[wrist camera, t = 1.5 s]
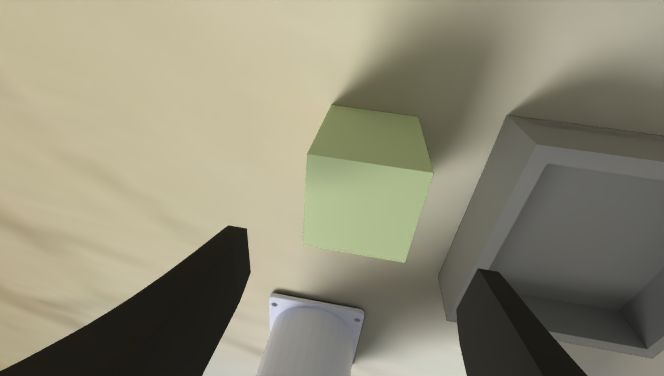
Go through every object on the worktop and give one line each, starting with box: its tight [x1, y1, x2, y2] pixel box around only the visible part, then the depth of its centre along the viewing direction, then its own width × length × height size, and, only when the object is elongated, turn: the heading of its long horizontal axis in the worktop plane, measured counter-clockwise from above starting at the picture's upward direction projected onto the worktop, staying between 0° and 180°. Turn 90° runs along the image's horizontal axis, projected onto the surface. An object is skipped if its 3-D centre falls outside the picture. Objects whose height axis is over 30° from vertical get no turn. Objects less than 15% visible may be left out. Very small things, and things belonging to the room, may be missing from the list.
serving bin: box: [438, 115, 664, 358], centre depth 16 cm, size 12×12×4 cm
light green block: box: [303, 105, 434, 263], centre depth 15 cm, size 5×5×6 cm
